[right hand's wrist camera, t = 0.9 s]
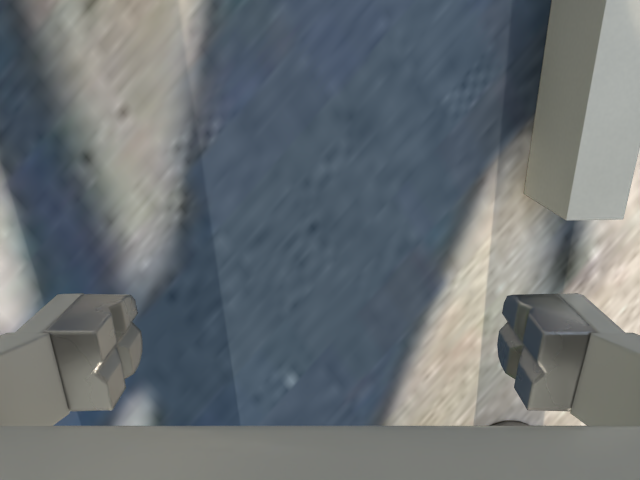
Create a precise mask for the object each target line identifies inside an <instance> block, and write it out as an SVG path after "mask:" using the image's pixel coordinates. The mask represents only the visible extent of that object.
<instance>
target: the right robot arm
mask: <svg viewBox="0 0 640 480" xmlns="http://www.w3.org/2000/svg"><path fill="white" fill-rule="evenodd" d="M137 314H138V312H137V307H136V302H135V299H134V298H133V297H132V296H131V295H112V294H83V293H82V294H59V295H57V296H55V297H54V298H53V299H52V300H51V301H50V302H49V303H48V304H46V305H45V306H44V307H43V308H42V309H41V310H40V311H39V312H37V313H36V314H35V315H34V316H33V317H32V318H31V319H30V320H28V321H27V322H26V323H25V324H24V325H23V326H22V327H21V328H20V329H18V330H17V331H16V332H15V333H5V334H3V335H0V480H640V335H637V334H635V333H625V332H624V331H623V330H622V329H621V328H619V327H618V326H617V325H616V324H615V323H614V322H613V321H612V320H610V319H609V318H608V317H607V316H606V315H605V314H604V313H603V312H602V311H600V310H599V309H598V308H597V307H596V306H595V305H594V304H593V303H591V302H590V301H589V300H588V299H587V298H586V297H585V296H584V295H581V294H577V293H575V294H530V295H510V296H507V298H506V300H505V302H504V306H503V312H502V314H503V315H504V317H505V318H506V320H507V321H508V322H507V323H506V324H505V325H504V326H503V327H502V328H501V329H500V331H499V336H498V344H497V345H498V356H499V360H500V363H501V366H502V367H503V369H504V371H505V373H506V374H508V375H509V376H511V377H513V378H514V379H516V380H515V385H514V388H515V390H516V392H517V393H518V395H519V397H520V398H521V400H522V402H523V403H524V405H525V407H526V408H527V410H542V411H571V412H570V413H571V414H572V415H574V416H575V417H576V418H578V419H579V420H580V421H582V422H583V423H584V424H586V425H587V426H53V425H54V424H56V423H57V422H58V421H60V420H61V419H62V418H64V417H65V416H67V415H68V414H69V411H97V410H113V408H114V407H115V405H116V403H117V402H118V400H119V398H120V397H121V395H122V393H123V392H124V390H125V388H126V385H125V380H124V379H126V378H127V377H129V376H131V375H132V374H134V373H135V371H136V369H137V367H138V366H139V363H140V359H141V355H142V335H141V331H140V329H139V328H138V327H137V326H136V325H135V324H134V323H133V322H132V321H133V320H134V318H135V317H136V315H137Z"/></svg>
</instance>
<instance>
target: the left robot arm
mask: <svg viewBox="0 0 640 480" xmlns="http://www.w3.org/2000/svg"><path fill="white" fill-rule="evenodd" d="M492 426H529V425H527V424H525V423H521V422H515V421H507V422H501V423H498V424H495V425H492Z"/></svg>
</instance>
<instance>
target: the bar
mask: <svg viewBox="0 0 640 480" xmlns="http://www.w3.org/2000/svg"><path fill="white" fill-rule="evenodd" d="M639 148H640V0H552V2H551V9H550V16H549V23H548V30H547V37H546V44H545V51H544V58H543V65H542V71H541V78H540V85H539V92H538V99H537V106H536V113H535V120H534V127H533V134H532V140H531V147H530V154H529V161H528V168H527V175H526V182H525V189H524V194H525V195H527V196H528V197H530V198H531V199H533V200H535V201H536V202H538V203H539V204H541V205H543V206H544V207H546V208H547V209H549V210H551V211H552V212H554V213H555V214H557V215H559V216H560V217H562V218H563V219H565V220H615V219H623V218H624V214H625V209H626V205H627V201H628V196H629V192H630V188H631V183H632V179H633V174H634V170H635V166H636V161H637V157H638V153H639Z"/></svg>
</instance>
